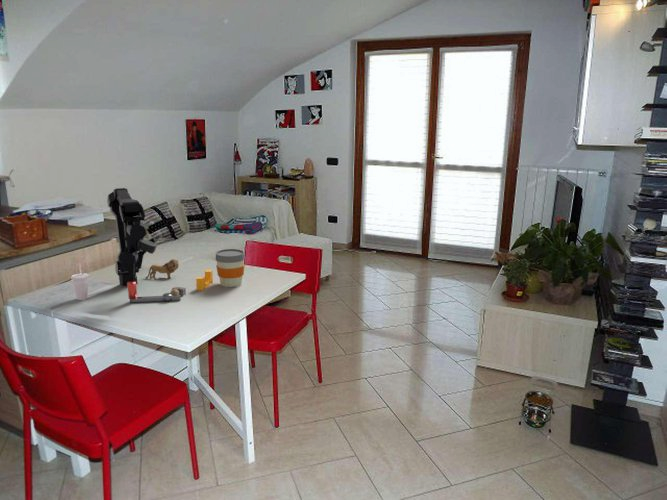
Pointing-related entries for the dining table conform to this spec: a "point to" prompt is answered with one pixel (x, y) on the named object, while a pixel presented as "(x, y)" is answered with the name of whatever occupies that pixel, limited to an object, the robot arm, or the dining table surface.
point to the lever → (133, 296)
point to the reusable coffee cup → (230, 267)
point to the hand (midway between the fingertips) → (135, 272)
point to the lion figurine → (164, 268)
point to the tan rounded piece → (175, 292)
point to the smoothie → (81, 284)
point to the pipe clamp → (204, 280)
